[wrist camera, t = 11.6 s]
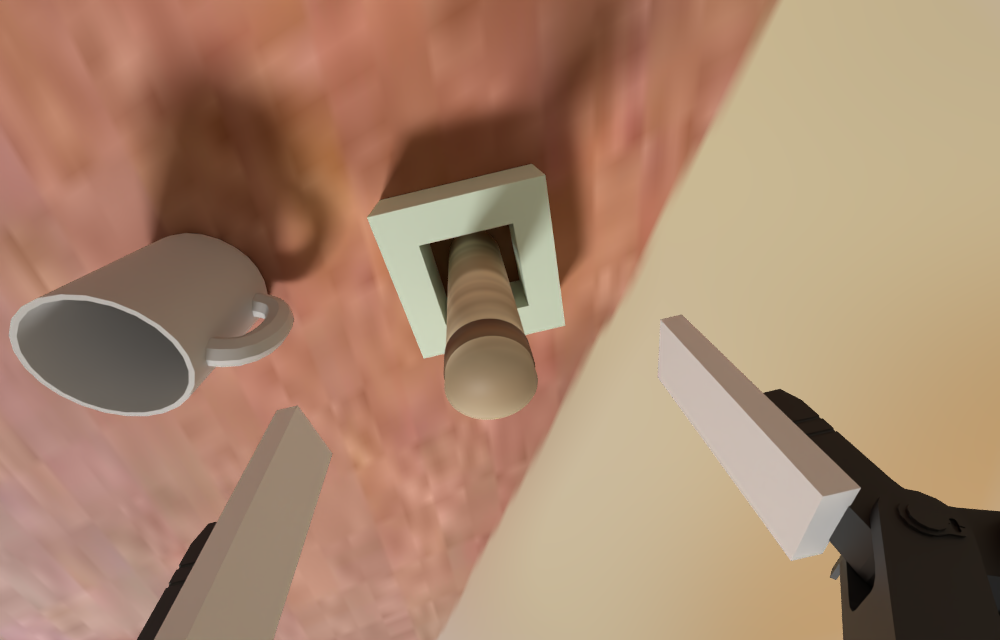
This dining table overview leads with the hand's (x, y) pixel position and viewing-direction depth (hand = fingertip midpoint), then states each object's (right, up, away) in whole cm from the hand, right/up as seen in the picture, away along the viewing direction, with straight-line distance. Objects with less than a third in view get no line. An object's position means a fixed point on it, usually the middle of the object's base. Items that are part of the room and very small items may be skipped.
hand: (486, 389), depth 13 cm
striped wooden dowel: (-1, +7, +13) cm, 15 cm away
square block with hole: (-1, +7, +13) cm, 15 cm away
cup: (-18, +5, +12) cm, 22 cm away
